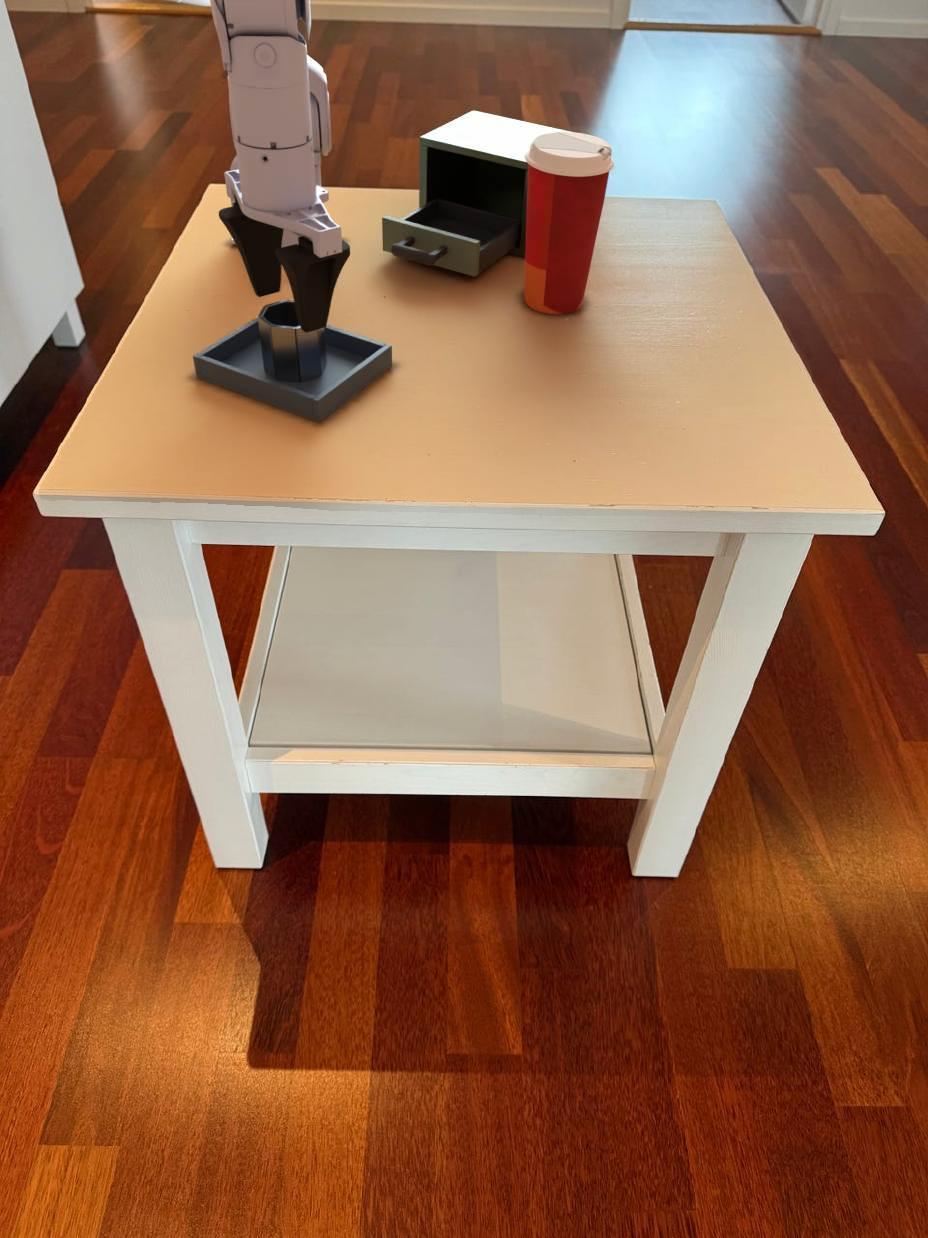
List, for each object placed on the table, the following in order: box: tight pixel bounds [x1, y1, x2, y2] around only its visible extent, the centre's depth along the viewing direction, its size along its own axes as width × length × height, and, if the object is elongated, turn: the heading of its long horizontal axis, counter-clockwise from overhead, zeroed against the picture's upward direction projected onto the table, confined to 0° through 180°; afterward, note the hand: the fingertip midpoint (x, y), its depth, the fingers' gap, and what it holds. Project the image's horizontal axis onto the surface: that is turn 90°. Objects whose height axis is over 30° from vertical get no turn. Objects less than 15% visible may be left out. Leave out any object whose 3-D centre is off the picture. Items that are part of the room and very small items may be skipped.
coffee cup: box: [523, 131, 615, 315], centre depth 89 cm, size 8×8×15 cm
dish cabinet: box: [418, 110, 571, 258], centre depth 104 cm, size 14×12×10 cm
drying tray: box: [192, 316, 393, 423], centre depth 81 cm, size 13×11×2 cm
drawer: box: [381, 198, 522, 277], centre depth 98 cm, size 11×15×4 cm
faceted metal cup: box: [257, 299, 327, 383], centre depth 80 cm, size 5×5×5 cm
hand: (290, 310), depth 78 cm, fingers open, 7 cm apart
